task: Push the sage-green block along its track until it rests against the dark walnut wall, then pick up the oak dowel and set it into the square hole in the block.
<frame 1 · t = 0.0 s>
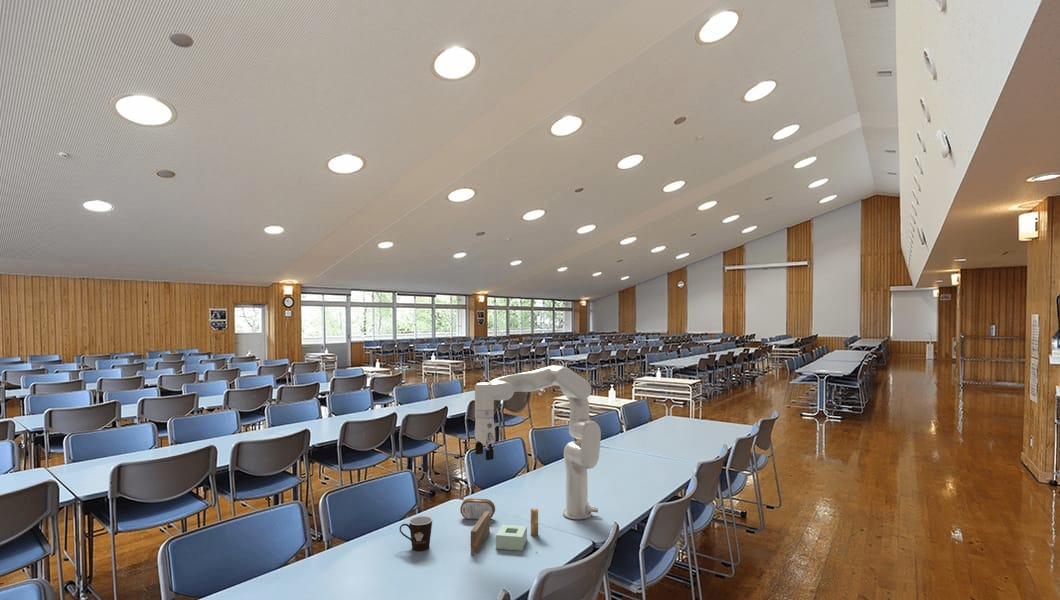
hand: (484, 456, 202), 31 cm above the table, tool pointing down, fingers open, 9 cm apart
block: (511, 537, 194), point 3 cm above the table, slide at -6.0 cm
tin: (477, 519, 219), on the table
coffee mug: (417, 547, 192), on the table
wall: (480, 541, 196), on the table
dowel: (534, 534, 202), on the table
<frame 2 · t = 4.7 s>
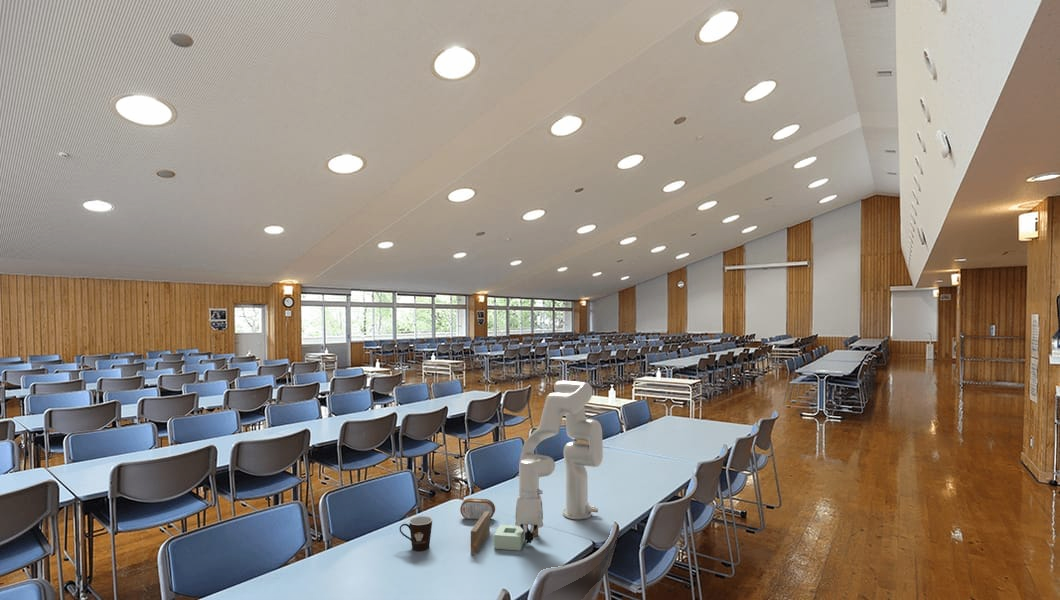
hand: (529, 541, 193), 1 cm above the table, tool pointing down, fingers closed
block: (509, 537, 194), point 3 cm above the table, slide at -5.3 cm, touching gripper
everything else where it was.
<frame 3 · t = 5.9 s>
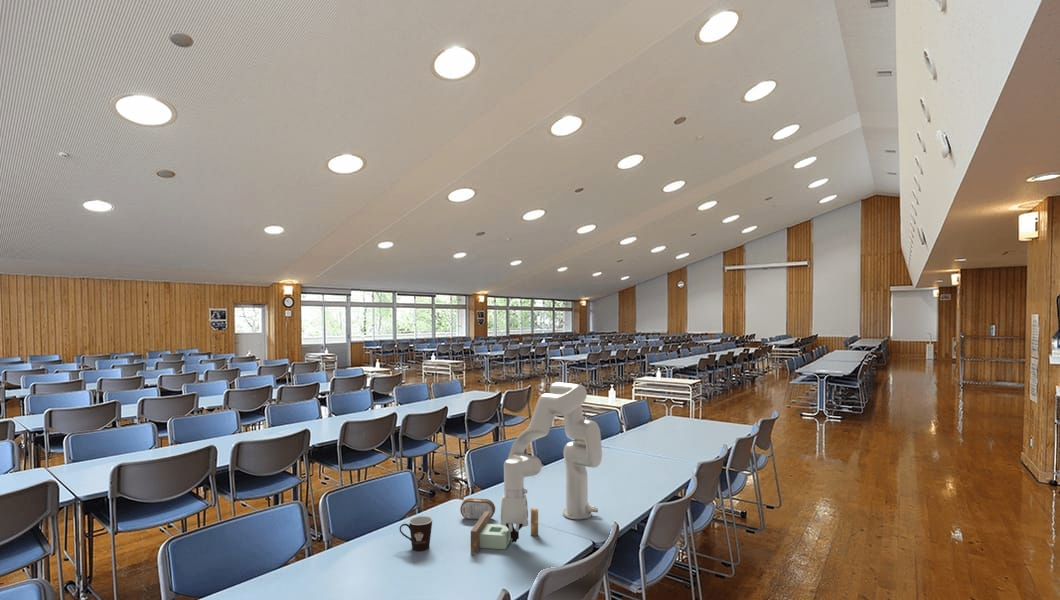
hand: (514, 540, 194), 1 cm above the table, tool pointing down, fingers closed
block: (495, 536, 195), point 3 cm above the table, slide at 0.3 cm, touching gripper, wall
everything else where it was.
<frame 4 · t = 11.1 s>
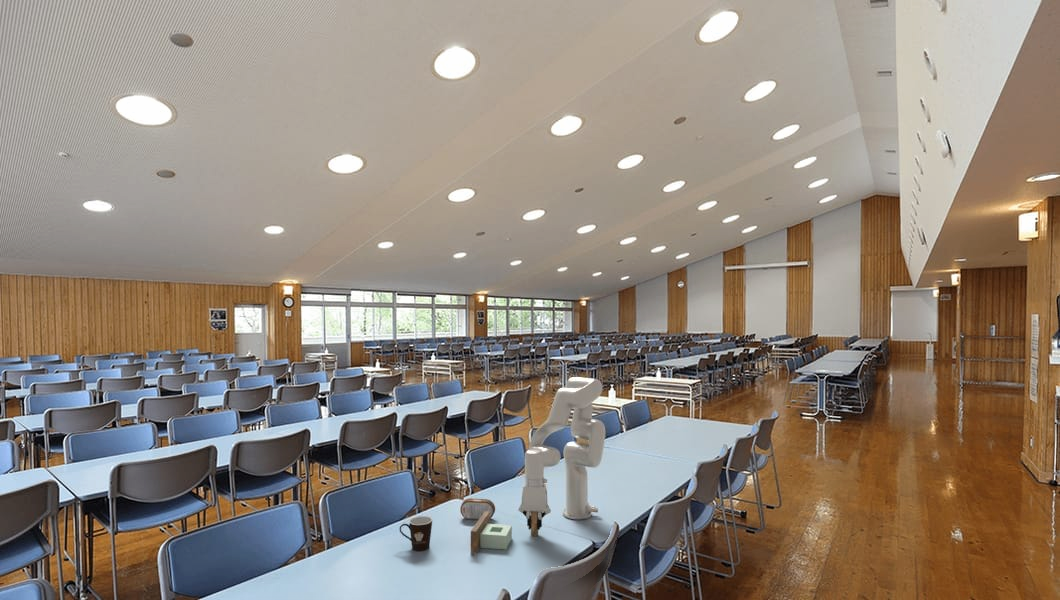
hand: (534, 527, 203), 3 cm above the table, tool pointing down, fingers closed on dowel, 3 cm apart
block: (496, 536, 195), point 3 cm above the table, slide at 0.0 cm
dowel: (534, 534, 203), on the table, touching gripper
everything else where it was.
when the fingers open (5 cm above the table, at t = 16.6 s): dowel drops 2 cm, resting on block.
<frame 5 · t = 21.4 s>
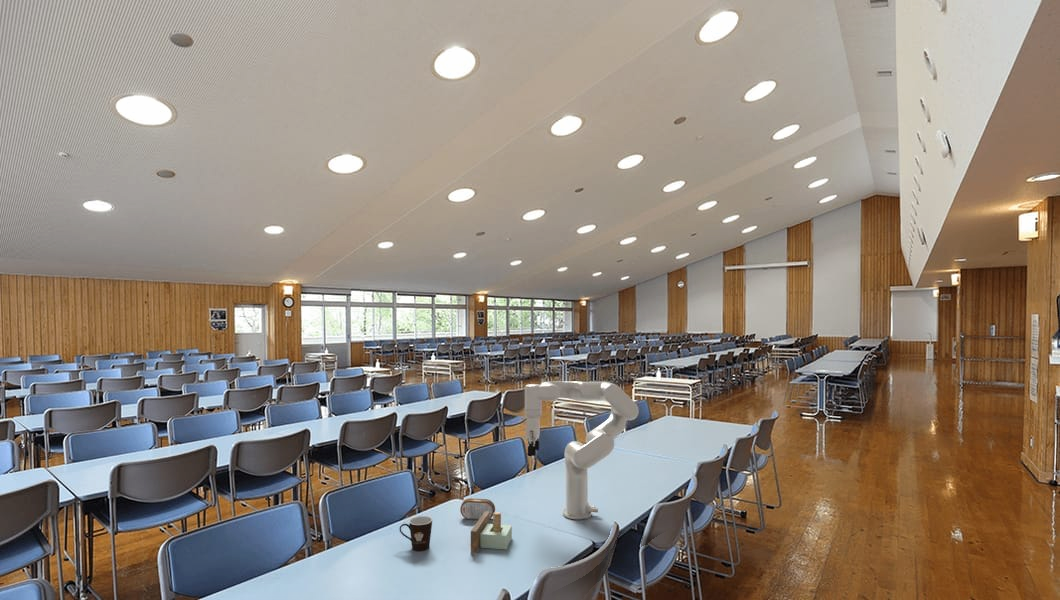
hand: (533, 452, 220), 28 cm above the table, tool pointing down, fingers open, 9 cm apart
block: (496, 536, 195), point 3 cm above the table, slide at 0.0 cm, touching dowel
dowel: (496, 540, 195), point 1 cm above the table, touching block
everything else where it was.
at the end: block slide at 0.0 cm; dowel 0.1 cm from the target spot, point 1.1 cm above the table; dowel tilted 1° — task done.
